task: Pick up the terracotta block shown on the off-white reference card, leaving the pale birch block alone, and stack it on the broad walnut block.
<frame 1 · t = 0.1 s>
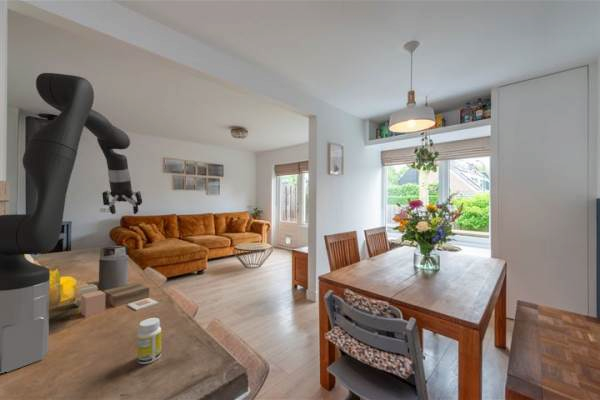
hand: (125, 213, 110), 31 cm above the kitchen counter, tool tilted 20°, fingers open, 8 cm apart
coffee box: (113, 282, 111), on the kitchen counter
terracotta block: (93, 312, 80), on the kitchen counter
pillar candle: (113, 290, 101), on the kitchen counter
reference card: (142, 304, 86), on the kitchen counter
birch block: (85, 303, 87), on the kitchen counter
walnut block: (126, 299, 91), on the kitchen counter
supplement bottle: (149, 359, 56), on the kitchen counter
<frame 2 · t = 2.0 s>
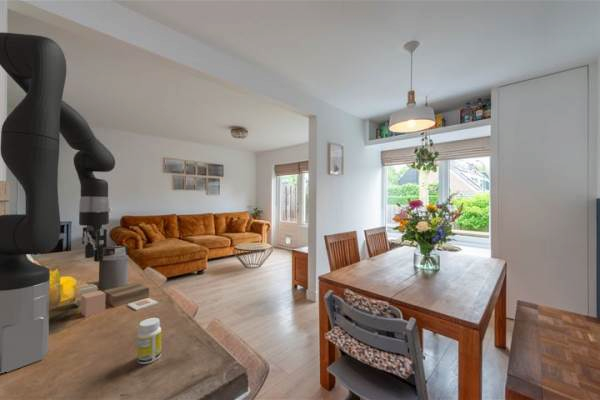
hand: (93, 259, 80), 17 cm above the kitchen counter, tool pointing down, fingers open, 8 cm apart
nothing on the kitchen counter moved.
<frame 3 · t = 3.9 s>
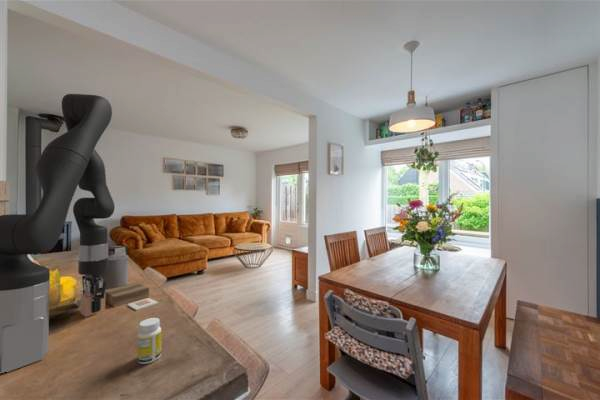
hand: (93, 309, 80), 1 cm above the kitchen counter, tool pointing down, fingers closed on terracotta block, 5 cm apart
terracotta block: (92, 312, 80), on the kitchen counter, touching gripper
everything else where it was.
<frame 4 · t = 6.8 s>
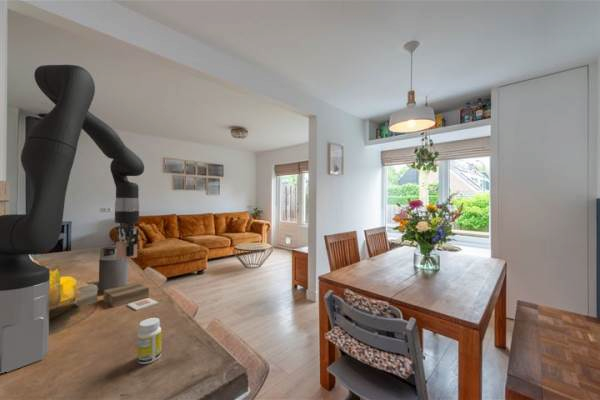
hand: (126, 254, 92), 16 cm above the kitchen counter, tool pointing down, fingers closed on terracotta block, 5 cm apart
terracotta block: (126, 257, 92), point 15 cm above the kitchen counter, touching gripper
everything else where it was.
when the fingers open (5 cm above the kitchen counter, at t = 10.0 s): terracotta block stays where it is, resting on walnut block.
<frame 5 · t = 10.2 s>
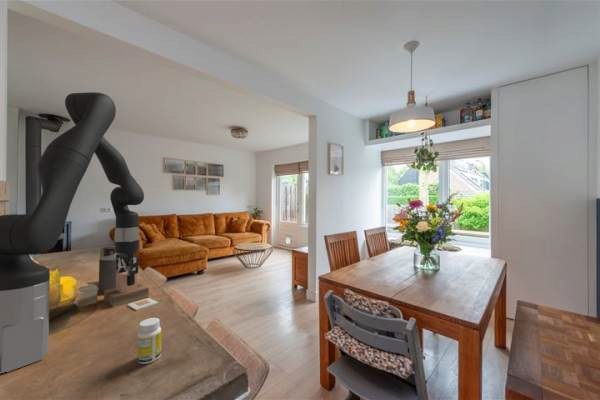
hand: (126, 283, 91), 6 cm above the kitchen counter, tool pointing down, fingers open, 7 cm apart
terracotta block: (126, 289, 91), point 4 cm above the kitchen counter, touching walnut block
walnut block: (126, 299, 91), on the kitchen counter, touching terracotta block
everything else where it was.
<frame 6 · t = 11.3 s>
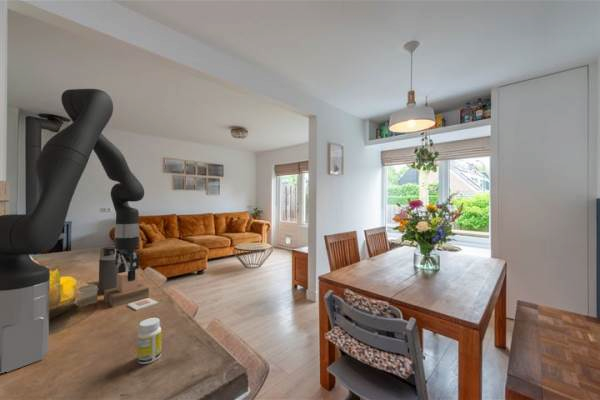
hand: (126, 278, 91), 7 cm above the kitchen counter, tool pointing down, fingers open, 8 cm apart
terracotta block: (126, 289, 91), point 4 cm above the kitchen counter
walnut block: (126, 299, 91), on the kitchen counter
everything else where it was.
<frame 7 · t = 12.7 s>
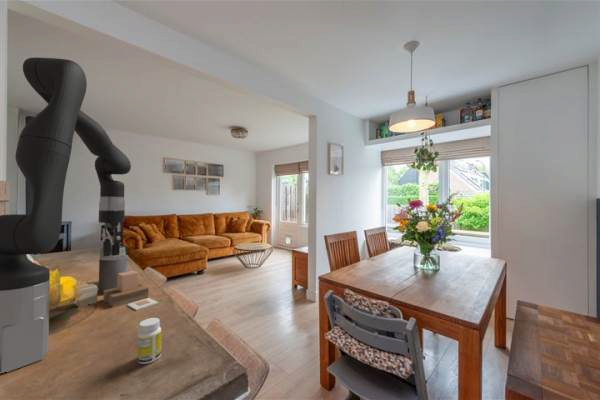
hand: (111, 254, 88), 17 cm above the kitchen counter, tool pointing down, fingers open, 8 cm apart
nothing on the kitchen counter moved.
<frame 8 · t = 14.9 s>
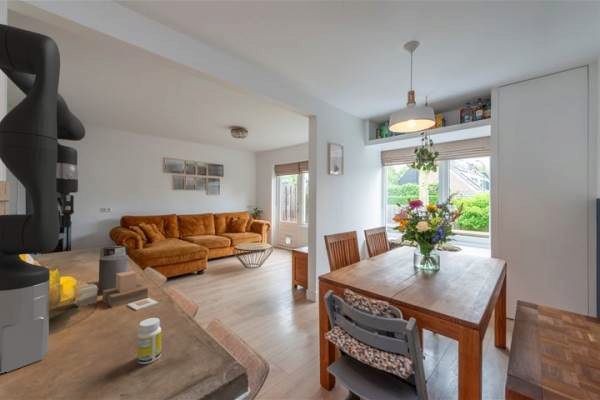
hand: (62, 226, 80), 28 cm above the kitchen counter, tool pointing down, fingers open, 8 cm apart
terracotta block: (126, 289, 91), point 4 cm above the kitchen counter, touching walnut block
walnut block: (125, 300, 91), on the kitchen counter, touching terracotta block
everything else where it was.
at the end: terracotta block inside the target area on the walnut block (0.2 cm from its centre), point 4.0 cm above the walnut block's base; terracotta block tilted 0°; the gripper is holding nothing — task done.
